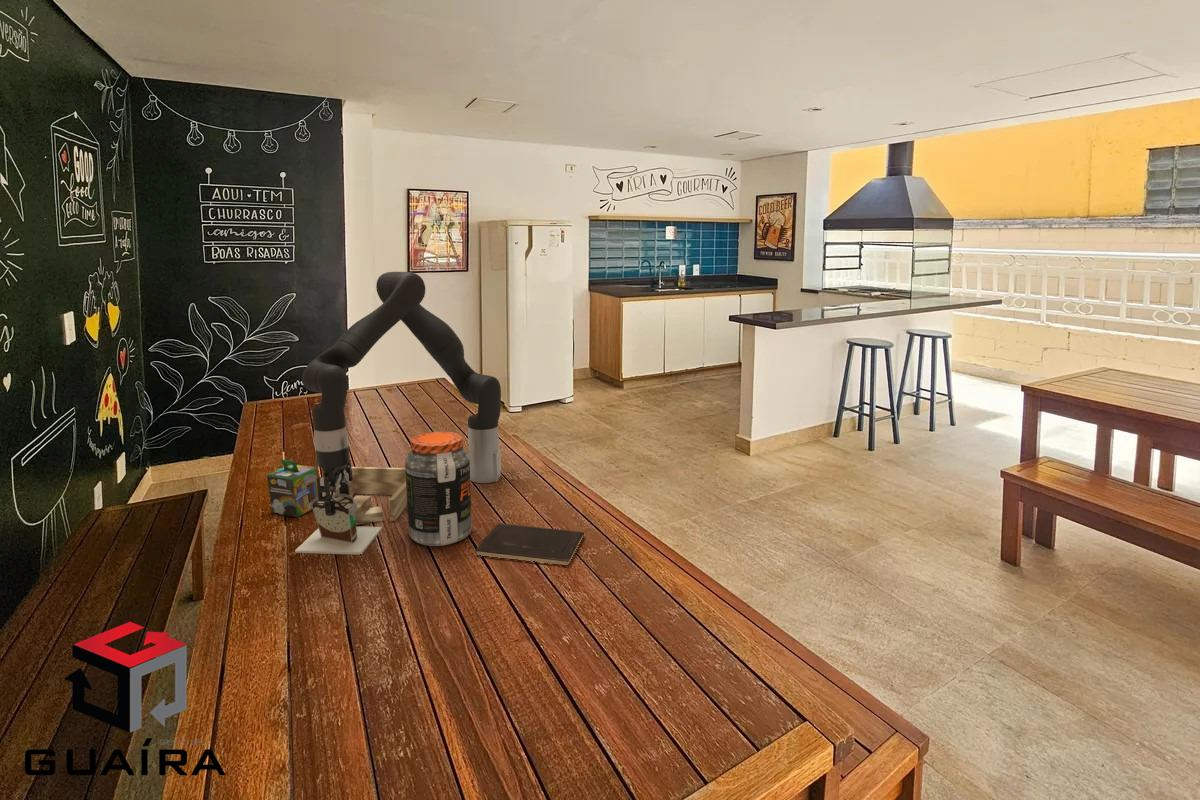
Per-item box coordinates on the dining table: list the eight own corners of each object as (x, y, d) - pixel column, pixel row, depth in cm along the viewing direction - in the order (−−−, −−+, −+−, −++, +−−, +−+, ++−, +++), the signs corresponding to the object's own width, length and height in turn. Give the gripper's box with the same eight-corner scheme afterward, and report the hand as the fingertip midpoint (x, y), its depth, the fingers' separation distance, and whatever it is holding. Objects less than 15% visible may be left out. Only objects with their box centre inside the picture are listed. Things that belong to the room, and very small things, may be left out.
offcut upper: (357, 505, 179) (356, 495, 178) (371, 506, 178) (370, 495, 178) (344, 518, 171) (343, 507, 170) (359, 518, 171) (358, 508, 170)
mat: (382, 529, 171) (381, 527, 170) (361, 554, 157) (361, 552, 157) (321, 527, 171) (321, 525, 171) (295, 552, 157) (295, 550, 157)
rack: (416, 493, 194) (415, 468, 192) (394, 521, 175) (392, 493, 173) (352, 492, 194) (350, 466, 192) (323, 519, 176) (321, 491, 174)
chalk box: (321, 505, 185) (317, 455, 181) (297, 518, 176) (291, 466, 173) (295, 501, 188) (290, 451, 184) (270, 513, 179) (264, 462, 176)
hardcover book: (568, 569, 153) (568, 560, 152) (475, 558, 157) (475, 549, 156) (584, 539, 168) (584, 530, 167) (498, 530, 172) (498, 521, 172)
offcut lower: (381, 516, 179) (381, 506, 178) (383, 522, 176) (382, 511, 175) (334, 523, 175) (333, 512, 174) (335, 529, 171) (334, 518, 170)
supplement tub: (475, 544, 163) (472, 445, 157) (409, 552, 159) (403, 450, 152) (469, 518, 178) (465, 426, 171) (408, 525, 173) (402, 431, 167)
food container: (373, 530, 166) (366, 496, 163) (357, 544, 161) (350, 508, 157) (333, 523, 170) (326, 489, 167) (316, 536, 165) (308, 501, 161)
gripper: (334, 455, 151) (341, 520, 155) (358, 436, 165) (364, 496, 169) (302, 455, 151) (309, 519, 155) (329, 435, 165) (335, 496, 169)
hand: (338, 507), depth 162 cm, fingers open, 8 cm apart
